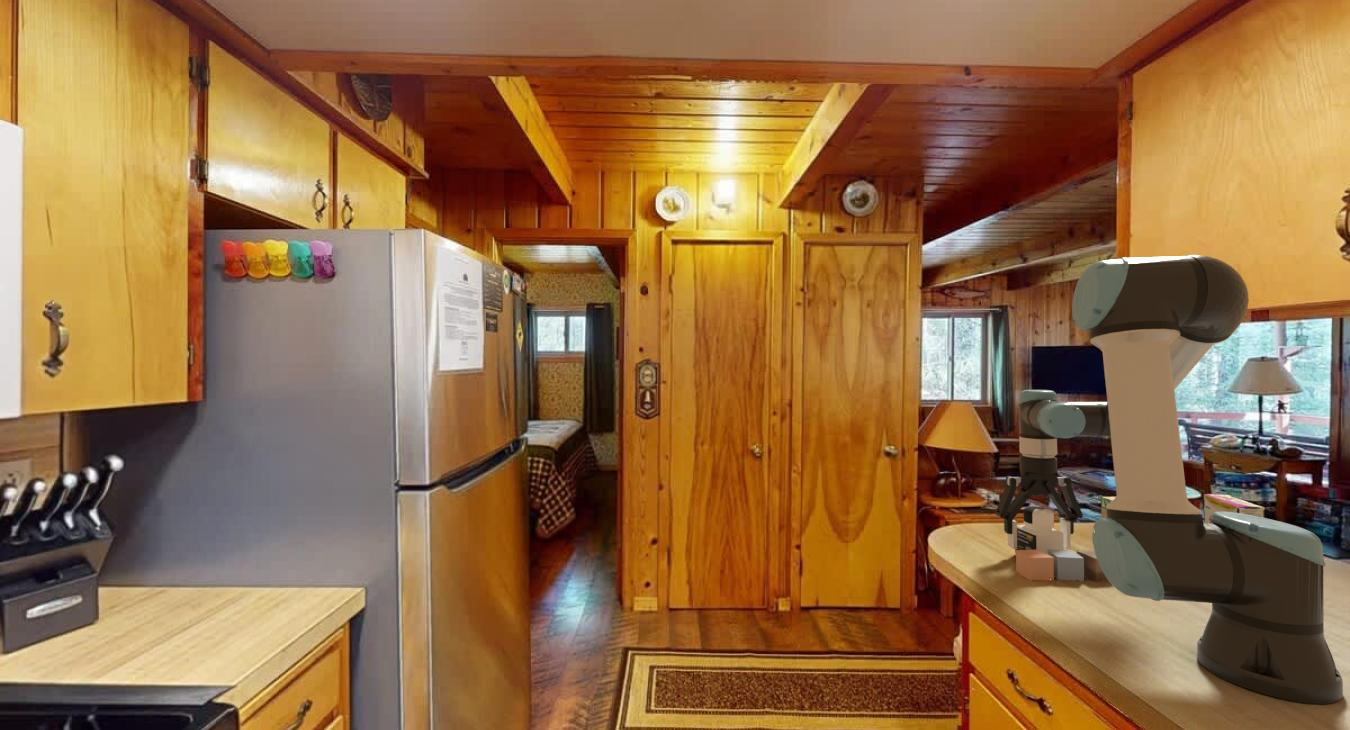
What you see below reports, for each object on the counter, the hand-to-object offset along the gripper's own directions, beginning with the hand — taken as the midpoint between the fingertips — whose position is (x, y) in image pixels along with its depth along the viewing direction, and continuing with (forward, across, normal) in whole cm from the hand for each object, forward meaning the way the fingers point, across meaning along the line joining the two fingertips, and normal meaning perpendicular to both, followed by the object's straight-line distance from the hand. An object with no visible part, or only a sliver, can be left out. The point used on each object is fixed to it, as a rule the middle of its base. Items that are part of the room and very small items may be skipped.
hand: (1038, 547), depth 136 cm
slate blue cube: (+3, 0, +11) cm, 11 cm away
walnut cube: (+3, -6, +11) cm, 13 cm away
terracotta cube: (+3, +7, +11) cm, 13 cm away
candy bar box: (+3, -35, +10) cm, 37 cm away
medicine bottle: (+3, 0, 0) cm, 3 cm away
